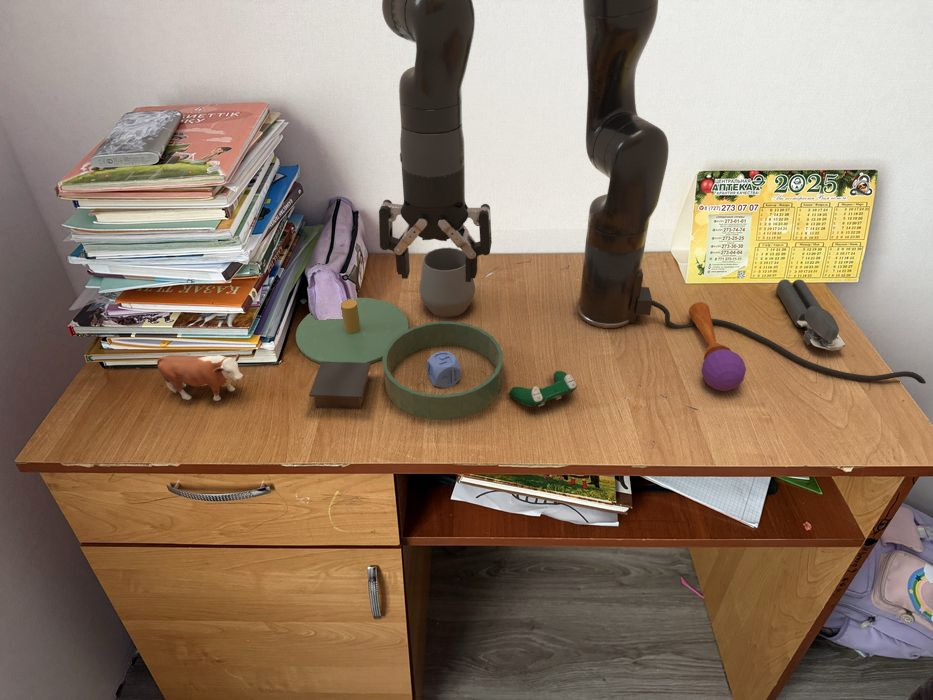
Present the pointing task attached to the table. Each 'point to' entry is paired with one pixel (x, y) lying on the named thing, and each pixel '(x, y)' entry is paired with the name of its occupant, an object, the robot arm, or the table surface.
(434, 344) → the tin
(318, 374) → the stand
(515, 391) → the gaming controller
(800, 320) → the can opener
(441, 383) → the decorative dice
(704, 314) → the purple maraca
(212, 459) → the table surface
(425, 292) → the cup
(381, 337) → the tin lid
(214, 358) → the bull figurine
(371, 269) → the table surface
